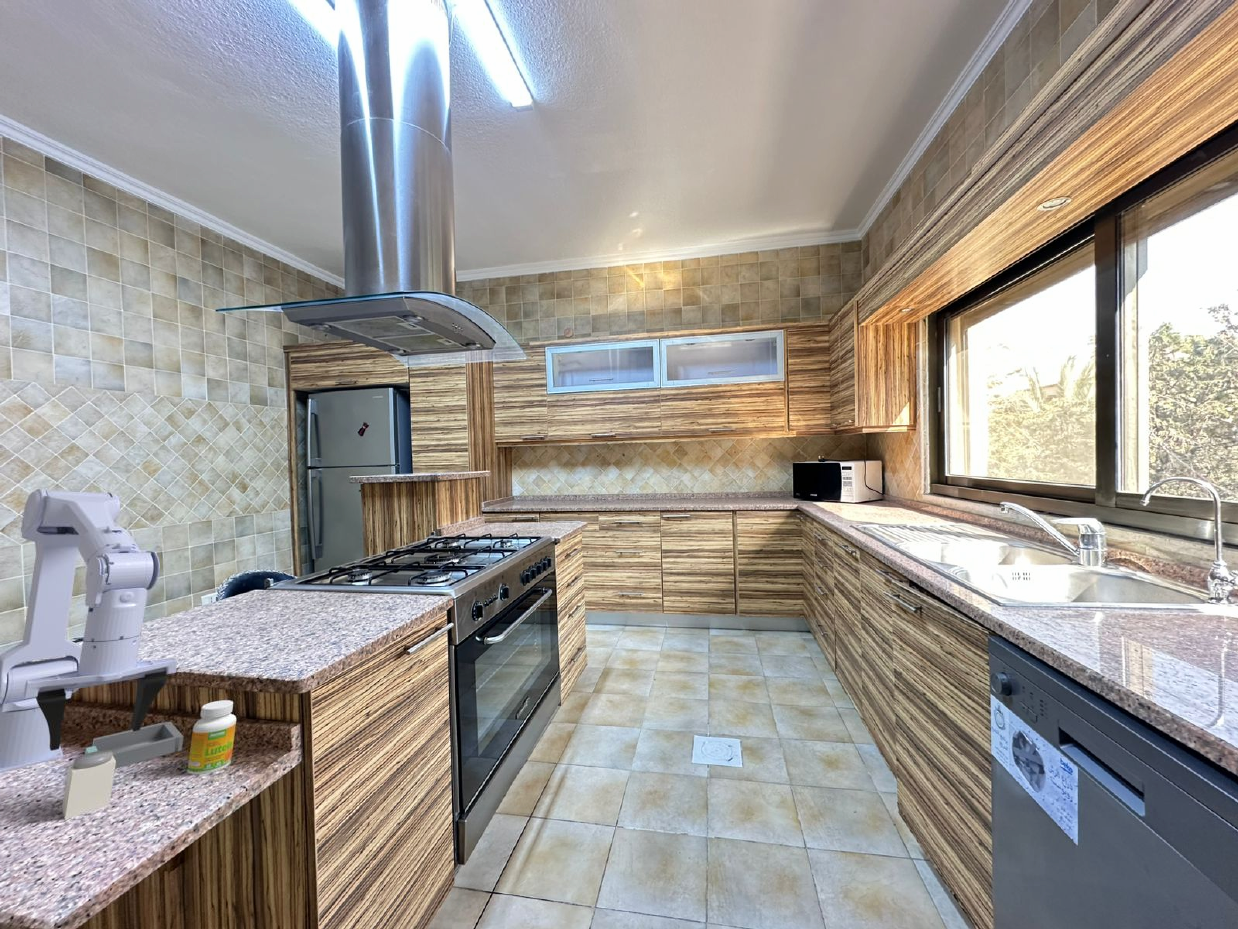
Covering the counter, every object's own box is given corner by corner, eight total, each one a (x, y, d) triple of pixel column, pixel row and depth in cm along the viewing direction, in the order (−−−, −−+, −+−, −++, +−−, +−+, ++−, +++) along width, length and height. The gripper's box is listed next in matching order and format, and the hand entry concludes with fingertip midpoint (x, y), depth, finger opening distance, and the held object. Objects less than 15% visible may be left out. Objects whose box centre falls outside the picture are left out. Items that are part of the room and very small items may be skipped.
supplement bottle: (201, 779, 73) (209, 713, 74) (178, 772, 74) (187, 707, 76) (238, 763, 78) (246, 701, 79) (217, 757, 79) (224, 696, 81)
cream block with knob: (61, 810, 64) (70, 757, 65) (104, 797, 67) (112, 746, 68) (64, 822, 62) (73, 766, 63) (108, 808, 65) (117, 755, 66)
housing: (76, 758, 78) (79, 742, 78) (167, 735, 87) (169, 721, 87) (91, 797, 67) (94, 779, 67) (193, 767, 76) (196, 750, 76)
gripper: (35, 652, 59) (14, 767, 58) (187, 633, 71) (173, 728, 69) (31, 642, 64) (11, 750, 62) (175, 626, 75) (162, 716, 73)
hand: (96, 738), depth 66 cm, fingers open, 7 cm apart
